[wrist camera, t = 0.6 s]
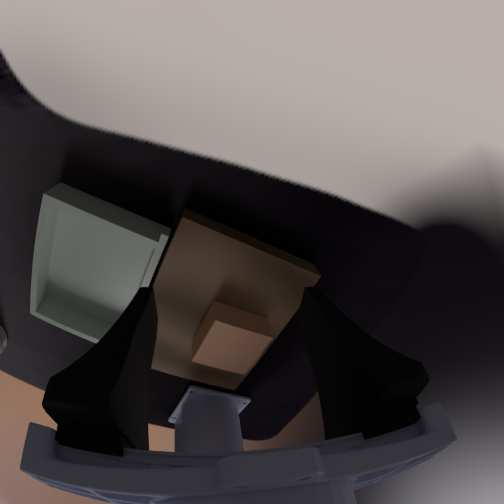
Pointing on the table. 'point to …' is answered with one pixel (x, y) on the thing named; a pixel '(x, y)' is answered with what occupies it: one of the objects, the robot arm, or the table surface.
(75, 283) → the box
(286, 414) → the table surface
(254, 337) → the block
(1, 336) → the energy drink
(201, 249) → the board
